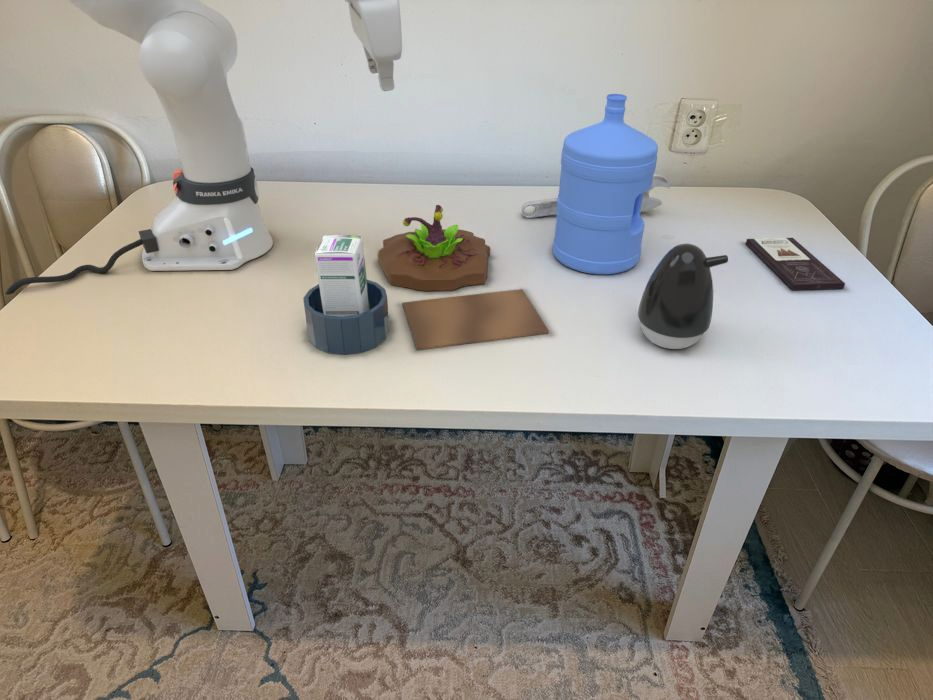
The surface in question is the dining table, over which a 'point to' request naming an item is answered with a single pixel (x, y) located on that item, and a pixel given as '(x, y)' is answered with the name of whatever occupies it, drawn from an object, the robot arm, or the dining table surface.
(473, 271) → the plant
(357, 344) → the pipe section
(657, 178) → the wrench
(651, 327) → the pump dispenser
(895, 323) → the dining table surface
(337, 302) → the syrup box
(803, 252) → the chocolate bar
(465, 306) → the brown flat rectangular board
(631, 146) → the water jug
